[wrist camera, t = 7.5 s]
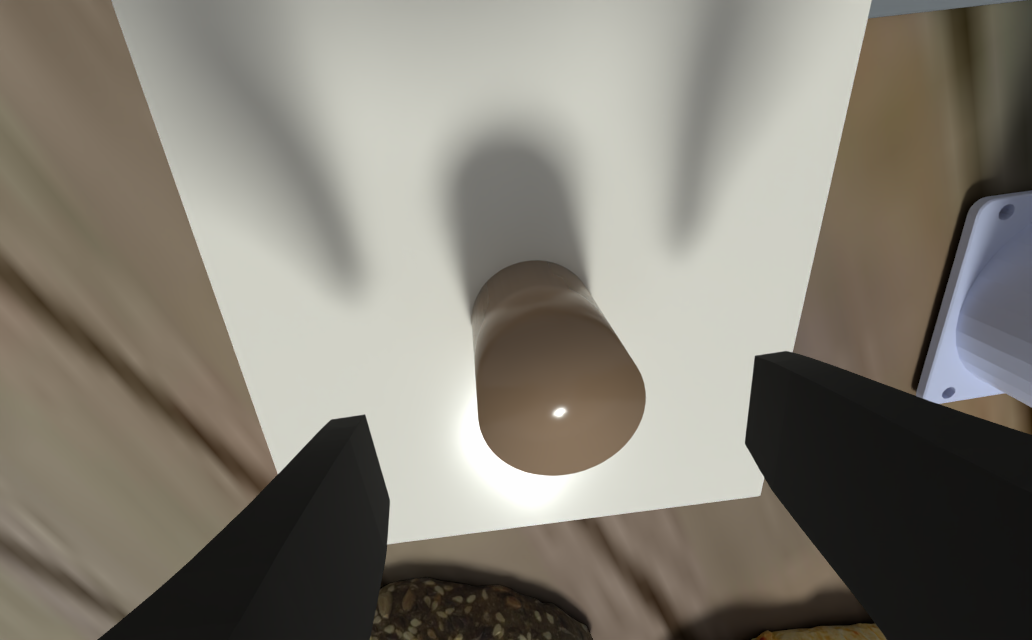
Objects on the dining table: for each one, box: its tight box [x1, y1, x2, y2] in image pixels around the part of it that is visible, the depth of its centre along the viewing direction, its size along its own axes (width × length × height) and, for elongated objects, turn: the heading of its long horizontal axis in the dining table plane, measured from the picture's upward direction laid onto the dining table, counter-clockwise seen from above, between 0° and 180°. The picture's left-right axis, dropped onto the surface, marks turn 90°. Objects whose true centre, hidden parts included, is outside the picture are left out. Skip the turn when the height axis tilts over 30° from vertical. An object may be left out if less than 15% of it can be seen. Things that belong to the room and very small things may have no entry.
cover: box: [111, 0, 872, 544], centre depth 12 cm, size 14×14×7 cm
